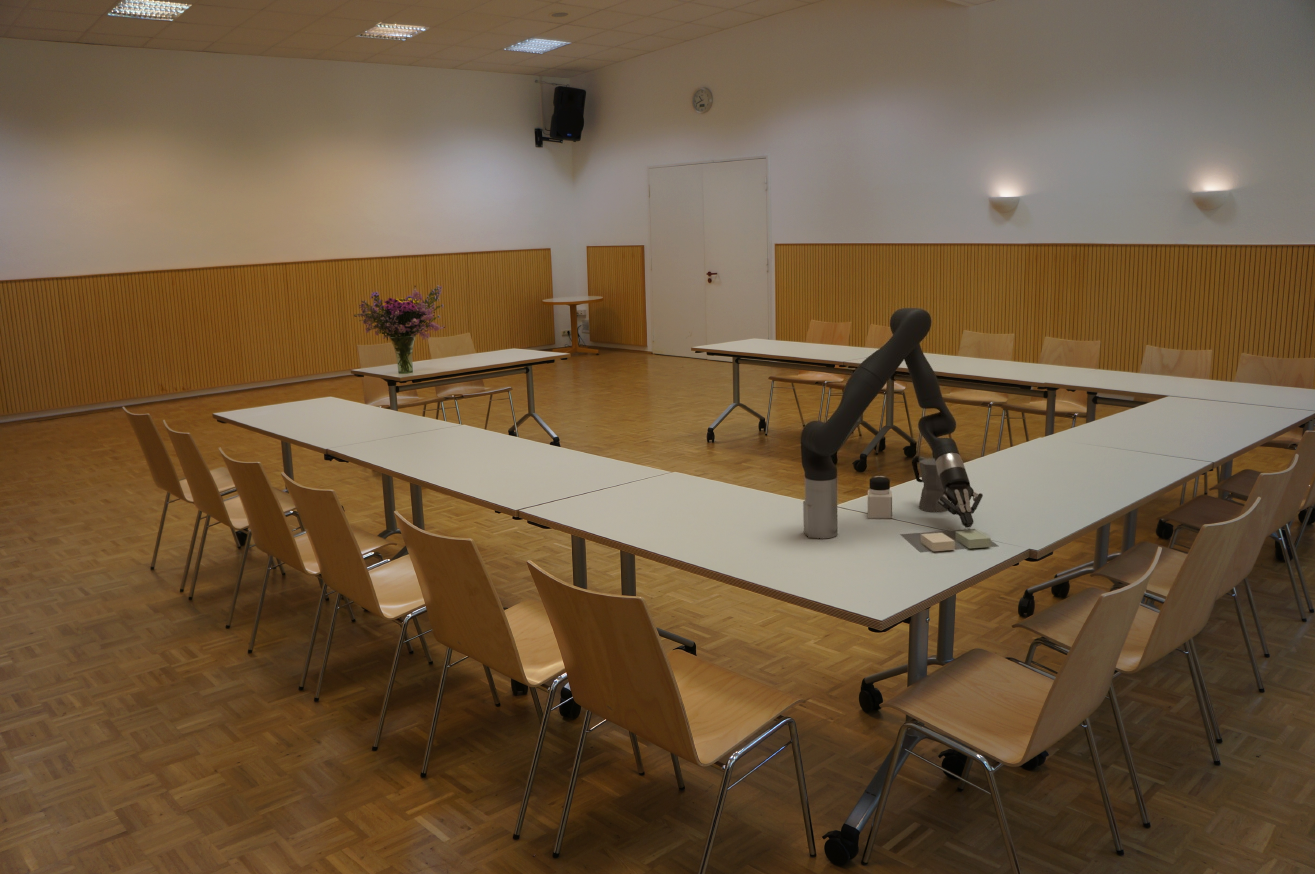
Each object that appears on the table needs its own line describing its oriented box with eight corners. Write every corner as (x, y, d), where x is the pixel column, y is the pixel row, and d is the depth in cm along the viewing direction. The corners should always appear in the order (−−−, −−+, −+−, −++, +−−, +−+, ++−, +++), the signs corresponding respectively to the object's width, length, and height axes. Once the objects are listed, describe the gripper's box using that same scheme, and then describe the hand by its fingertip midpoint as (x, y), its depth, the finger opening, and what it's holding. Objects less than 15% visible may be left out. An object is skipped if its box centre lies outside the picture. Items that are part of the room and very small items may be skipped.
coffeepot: (961, 509, 293) (962, 453, 290) (941, 515, 288) (942, 458, 284) (921, 499, 306) (922, 445, 302) (901, 505, 300) (902, 450, 297)
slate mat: (920, 554, 255) (920, 552, 255) (899, 536, 271) (899, 534, 271) (999, 548, 257) (999, 546, 257) (974, 530, 273) (974, 528, 273)
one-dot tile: (955, 540, 264) (969, 549, 255) (955, 531, 263) (969, 539, 254) (976, 539, 264) (990, 547, 255) (976, 529, 264) (990, 538, 255)
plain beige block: (920, 543, 263) (933, 552, 254) (920, 534, 262) (933, 542, 254) (941, 541, 263) (954, 550, 254) (941, 532, 263) (954, 541, 254)
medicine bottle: (891, 518, 287) (892, 480, 285) (867, 518, 289) (867, 480, 286) (891, 512, 294) (891, 474, 292) (867, 511, 296) (867, 474, 293)
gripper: (933, 467, 267) (949, 521, 258) (978, 464, 268) (996, 518, 259) (926, 480, 273) (941, 534, 264) (970, 477, 275) (987, 530, 265)
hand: (969, 526), depth 261 cm, fingers closed
